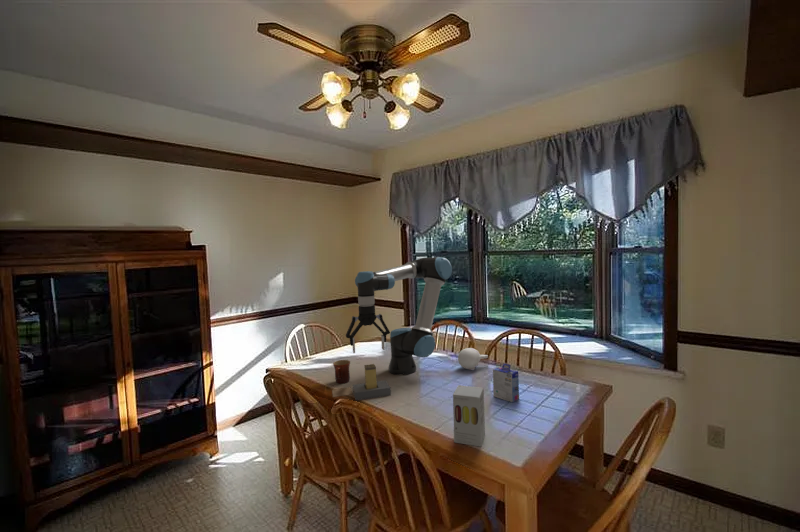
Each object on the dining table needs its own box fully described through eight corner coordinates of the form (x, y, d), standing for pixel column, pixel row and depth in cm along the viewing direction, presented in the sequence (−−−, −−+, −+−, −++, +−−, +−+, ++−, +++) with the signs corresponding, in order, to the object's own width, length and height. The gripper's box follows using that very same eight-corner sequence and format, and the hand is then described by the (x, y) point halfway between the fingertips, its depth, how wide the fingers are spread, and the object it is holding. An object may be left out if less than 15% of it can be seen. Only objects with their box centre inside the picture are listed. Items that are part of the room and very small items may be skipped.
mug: (337, 378, 191) (336, 359, 190) (353, 379, 189) (352, 360, 188) (329, 387, 179) (327, 367, 178) (345, 388, 177) (344, 367, 177)
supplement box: (453, 442, 123) (451, 394, 122) (459, 429, 131) (457, 384, 131) (482, 447, 119) (480, 397, 119) (485, 433, 128) (484, 386, 127)
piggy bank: (467, 376, 189) (484, 370, 199) (473, 356, 187) (490, 351, 197) (450, 364, 198) (467, 360, 208) (455, 345, 196) (472, 341, 206)
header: (386, 388, 174) (385, 380, 174) (390, 396, 165) (390, 387, 164) (353, 393, 170) (352, 384, 170) (355, 401, 161) (355, 392, 160)
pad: (350, 388, 177) (350, 387, 176) (352, 395, 168) (352, 394, 168) (331, 391, 174) (331, 389, 174) (333, 398, 166) (333, 396, 166)
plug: (375, 391, 170) (374, 363, 170) (377, 394, 166) (375, 366, 165) (365, 392, 169) (364, 365, 168) (367, 396, 165) (365, 368, 164)
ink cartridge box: (520, 399, 155) (518, 365, 154) (513, 403, 151) (512, 369, 151) (500, 393, 162) (498, 361, 162) (492, 396, 159) (491, 364, 158)
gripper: (391, 302, 172) (393, 346, 173) (338, 306, 166) (340, 351, 167) (394, 304, 165) (396, 349, 166) (339, 308, 159) (342, 356, 160)
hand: (368, 350), depth 166 cm, fingers open, 13 cm apart
